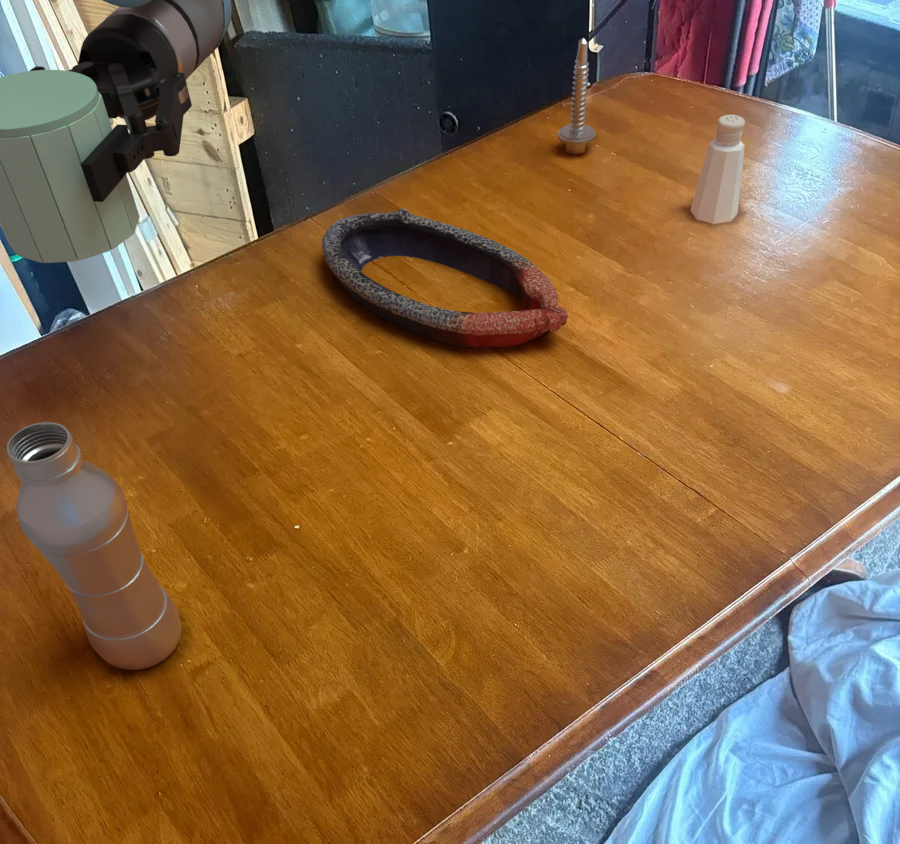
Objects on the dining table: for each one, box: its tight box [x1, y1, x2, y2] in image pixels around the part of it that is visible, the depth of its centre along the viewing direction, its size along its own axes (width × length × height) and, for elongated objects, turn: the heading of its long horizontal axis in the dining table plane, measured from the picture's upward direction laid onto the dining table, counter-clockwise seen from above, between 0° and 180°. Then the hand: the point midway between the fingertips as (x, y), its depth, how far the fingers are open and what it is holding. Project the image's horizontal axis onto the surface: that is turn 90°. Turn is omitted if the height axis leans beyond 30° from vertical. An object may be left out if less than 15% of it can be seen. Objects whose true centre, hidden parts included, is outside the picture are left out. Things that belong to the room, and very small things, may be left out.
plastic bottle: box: [6, 421, 182, 671], centre depth 59 cm, size 6×7×20 cm
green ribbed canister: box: [0, 69, 140, 264], centre depth 68 cm, size 10×10×10 cm
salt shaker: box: [690, 114, 746, 225], centre depth 99 cm, size 5×5×11 cm
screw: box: [557, 37, 597, 156], centre depth 110 cm, size 13×5×5 cm
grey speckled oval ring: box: [321, 208, 569, 349], centre depth 92 cm, size 16×31×5 cm, turn 47°
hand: (20, 179), depth 65 cm, fingers closed on green ribbed canister, 10 cm apart
